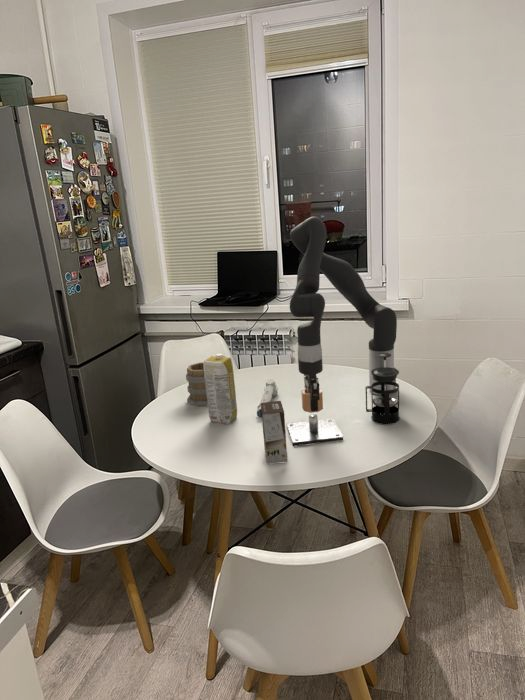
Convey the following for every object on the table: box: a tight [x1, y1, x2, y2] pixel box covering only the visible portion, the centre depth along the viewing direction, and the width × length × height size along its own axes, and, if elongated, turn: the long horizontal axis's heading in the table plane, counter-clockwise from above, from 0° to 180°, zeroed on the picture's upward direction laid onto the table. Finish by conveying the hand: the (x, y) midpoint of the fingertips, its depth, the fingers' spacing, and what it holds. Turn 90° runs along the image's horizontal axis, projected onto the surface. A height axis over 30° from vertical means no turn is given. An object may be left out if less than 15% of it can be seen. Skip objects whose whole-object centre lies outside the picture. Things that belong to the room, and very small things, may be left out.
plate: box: [286, 413, 344, 447], centre depth 168 cm, size 16×14×6 cm
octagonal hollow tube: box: [301, 387, 324, 414], centre depth 166 cm, size 6×6×7 cm
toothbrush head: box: [256, 379, 279, 419], centre depth 195 cm, size 5×7×25 cm
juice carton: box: [202, 353, 238, 425], centre depth 182 cm, size 9×8×24 cm
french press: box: [364, 353, 401, 425], centre depth 173 cm, size 12×9×23 cm
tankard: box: [185, 355, 226, 407], centre depth 205 cm, size 20×13×15 cm, turn 129°
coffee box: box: [261, 400, 288, 465], centre depth 155 cm, size 9×6×16 cm
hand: (312, 406), depth 167 cm, fingers closed on octagonal hollow tube, 6 cm apart
